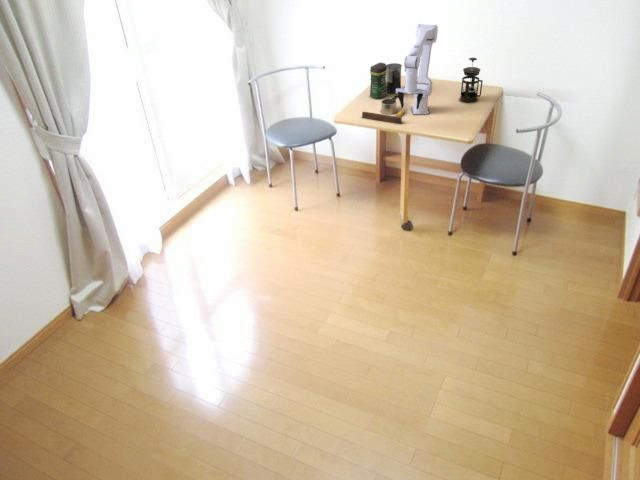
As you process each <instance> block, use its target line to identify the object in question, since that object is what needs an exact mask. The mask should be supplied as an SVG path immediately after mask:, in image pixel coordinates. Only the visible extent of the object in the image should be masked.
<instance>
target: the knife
mask: <svg viewBox="0 0 640 480" xmlns="http://www.w3.org/2000/svg"><path fill="white" fill-rule="evenodd" d="M404 113H405V110H404V109H400V110H399V111H398V112H397V115H396V116H395V117H401V118H402V116H403V114H404Z"/></svg>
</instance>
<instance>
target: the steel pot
mask: <svg viewBox="0 0 640 480" xmlns="http://www.w3.org/2000/svg"><path fill="white" fill-rule="evenodd" d="M397 95H398V94H395V95H394V96H393V97H392V98H385V99H383V100H381V111H380V112H381V114H383V115H394V114H395V113H397V99H399V98H398V96H397Z"/></svg>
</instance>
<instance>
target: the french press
mask: <svg viewBox="0 0 640 480" xmlns="http://www.w3.org/2000/svg"><path fill="white" fill-rule="evenodd" d="M468 60H469V61H471V66H468V67H464V68H463V69H462V72H463V74H464V77H462V79H461V89H460V98H459V101H460V102H461V103H464V104H475V103H476V102H477V101H478V98H480V97H481V96H482V91H483V82H484V81H483V80H482V79H480V77H478V76H479V75H480V72H481V68H479V67H476V66H473V65H474V62H475V61H477V60H478V58H477V57H469V58H468ZM467 79H470V80H469V81H468V80H467ZM464 84H465V86H464ZM475 84H476V86H475ZM479 85H480V87H479ZM478 92H479V94H478Z"/></svg>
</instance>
